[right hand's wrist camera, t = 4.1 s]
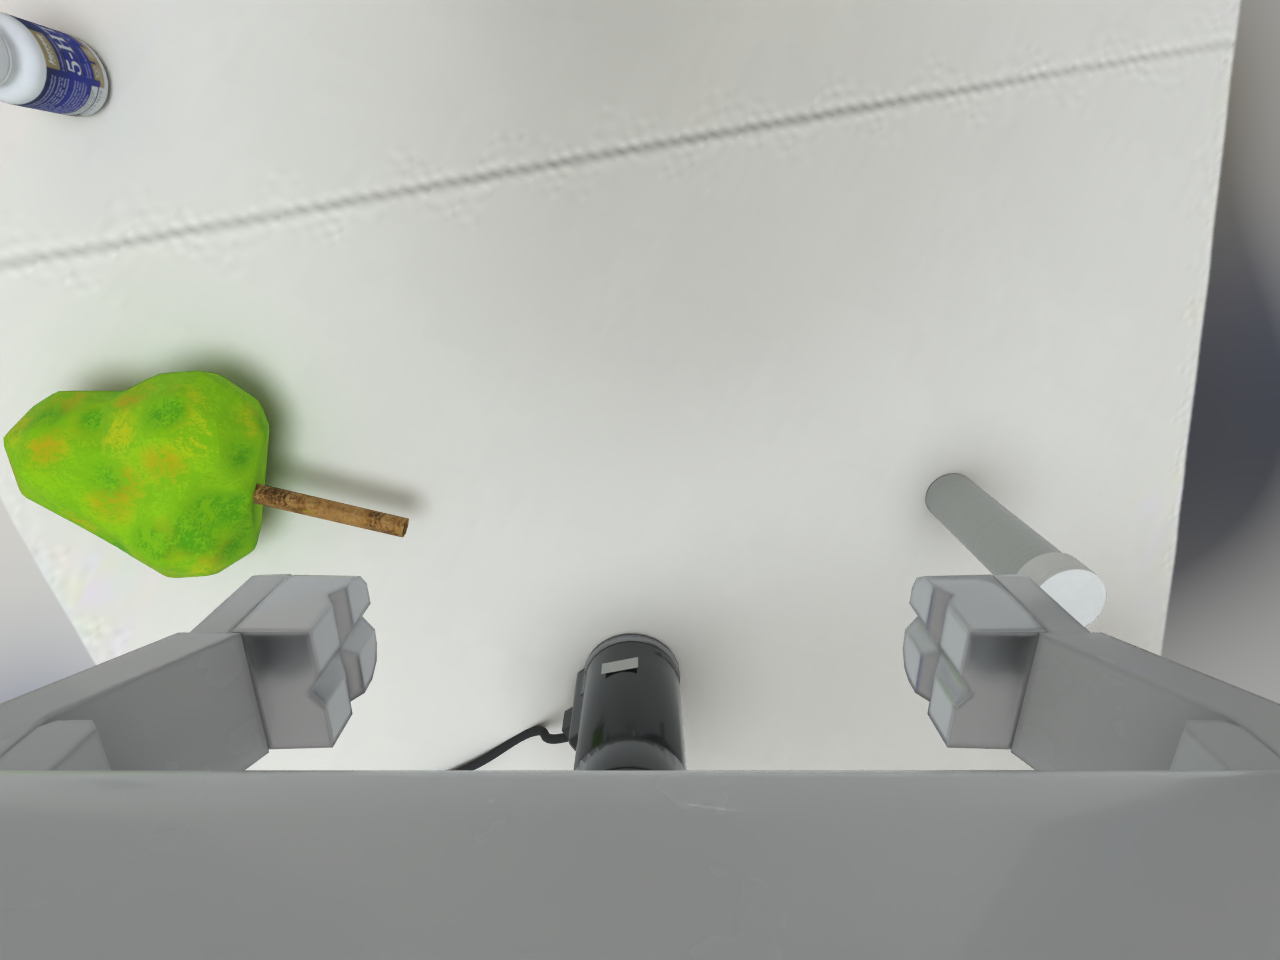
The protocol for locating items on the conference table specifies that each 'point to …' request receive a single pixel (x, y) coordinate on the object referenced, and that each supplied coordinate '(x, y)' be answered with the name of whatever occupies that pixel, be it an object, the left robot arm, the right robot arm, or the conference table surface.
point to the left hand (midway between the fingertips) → (1146, 772)
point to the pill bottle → (49, 70)
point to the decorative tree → (164, 471)
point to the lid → (1068, 584)
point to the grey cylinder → (984, 525)
